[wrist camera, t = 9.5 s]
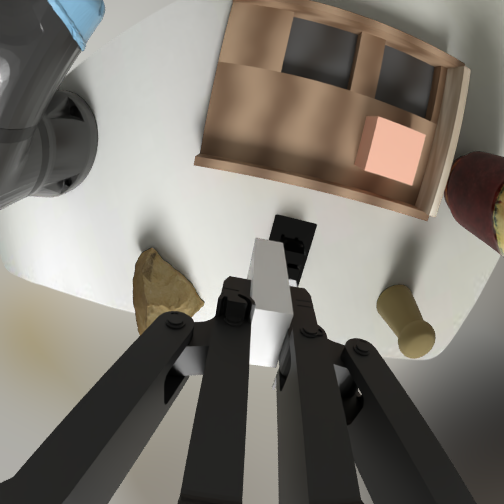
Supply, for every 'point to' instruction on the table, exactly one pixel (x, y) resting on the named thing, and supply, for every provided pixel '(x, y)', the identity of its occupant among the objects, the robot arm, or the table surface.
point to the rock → (160, 290)
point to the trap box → (330, 102)
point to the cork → (406, 321)
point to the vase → (478, 196)
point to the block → (389, 149)
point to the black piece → (293, 243)
